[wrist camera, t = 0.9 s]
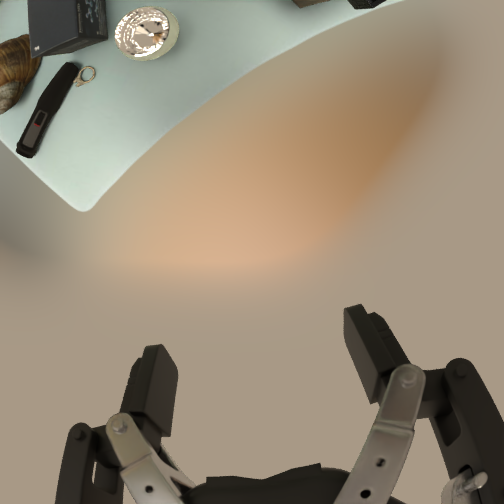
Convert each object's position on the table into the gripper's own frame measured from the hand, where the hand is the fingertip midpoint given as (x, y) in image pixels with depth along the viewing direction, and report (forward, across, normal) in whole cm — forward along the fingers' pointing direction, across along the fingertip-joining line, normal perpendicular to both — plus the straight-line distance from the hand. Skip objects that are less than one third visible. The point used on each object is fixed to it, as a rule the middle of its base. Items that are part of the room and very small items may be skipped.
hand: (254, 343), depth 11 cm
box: (+23, +13, -28) cm, 39 cm away
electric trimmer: (+24, +16, -23) cm, 37 cm away
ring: (+24, +15, -21) cm, 36 cm away
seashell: (+22, +25, -27) cm, 43 cm away
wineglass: (+25, +5, -22) cm, 34 cm away
